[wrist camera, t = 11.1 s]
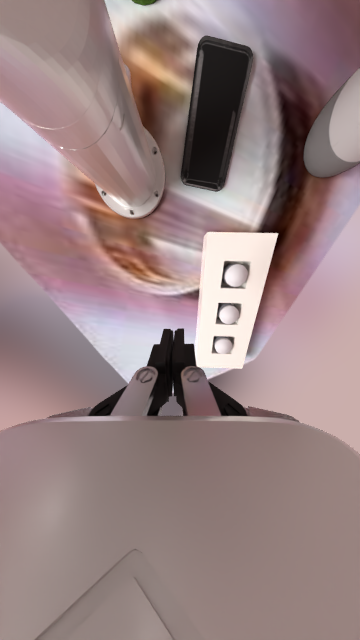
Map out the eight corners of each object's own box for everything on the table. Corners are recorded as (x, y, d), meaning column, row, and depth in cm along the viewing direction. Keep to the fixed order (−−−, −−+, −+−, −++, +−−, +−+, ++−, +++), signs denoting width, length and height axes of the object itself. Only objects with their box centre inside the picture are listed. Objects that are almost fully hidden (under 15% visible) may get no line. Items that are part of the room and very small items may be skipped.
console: (203, 236, 28) (207, 231, 23) (262, 237, 28) (278, 233, 23) (194, 354, 40) (195, 367, 36) (235, 356, 40) (242, 368, 35)
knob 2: (221, 263, 29) (227, 264, 25) (240, 263, 29) (249, 264, 25) (219, 283, 30) (224, 286, 26) (237, 283, 30) (245, 286, 26)
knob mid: (216, 300, 32) (221, 306, 28) (233, 300, 32) (241, 306, 28) (214, 316, 33) (218, 323, 30) (230, 316, 33) (237, 324, 29)
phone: (180, 181, 24) (199, 33, 18) (180, 184, 25) (198, 45, 19) (223, 191, 24) (256, 48, 18) (221, 193, 25) (252, 59, 19)
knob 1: (212, 330, 35) (216, 339, 31) (228, 331, 35) (233, 340, 31) (211, 343, 37) (214, 353, 33) (225, 344, 37) (230, 354, 33)
